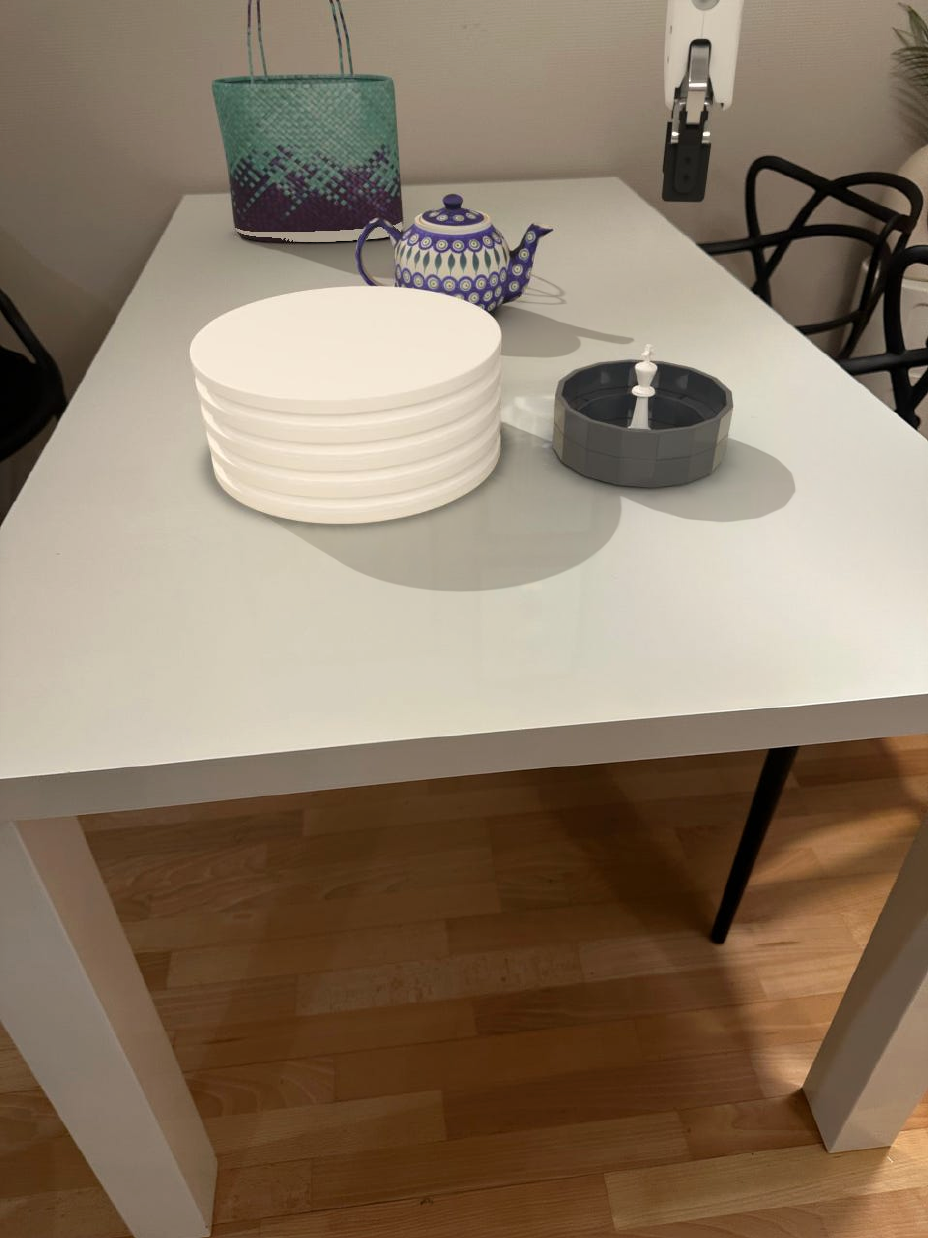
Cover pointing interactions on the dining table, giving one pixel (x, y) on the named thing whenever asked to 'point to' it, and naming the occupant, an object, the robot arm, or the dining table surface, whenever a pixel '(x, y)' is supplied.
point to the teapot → (458, 255)
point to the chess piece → (643, 388)
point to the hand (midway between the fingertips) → (681, 186)
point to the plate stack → (351, 402)
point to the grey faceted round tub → (660, 456)
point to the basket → (309, 148)
